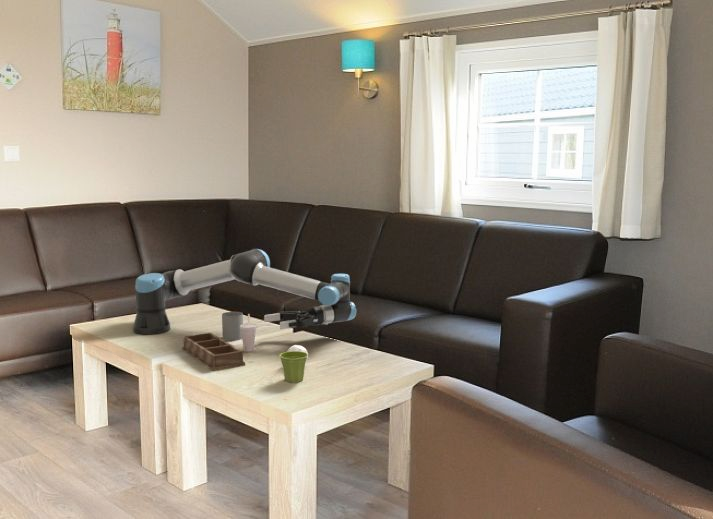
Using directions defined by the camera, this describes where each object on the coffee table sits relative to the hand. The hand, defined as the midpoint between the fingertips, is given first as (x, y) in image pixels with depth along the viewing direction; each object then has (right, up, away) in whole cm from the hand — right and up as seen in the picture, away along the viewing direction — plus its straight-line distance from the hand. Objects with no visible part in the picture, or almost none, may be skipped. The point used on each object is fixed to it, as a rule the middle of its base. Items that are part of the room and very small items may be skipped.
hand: (272, 322), depth 282 cm
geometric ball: (+12, -14, -24) cm, 30 cm away
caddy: (-21, -12, -12) cm, 27 cm away
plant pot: (+12, -16, -39) cm, 44 cm away
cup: (-18, -8, +14) cm, 24 cm away
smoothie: (-9, -11, -4) cm, 14 cm away
